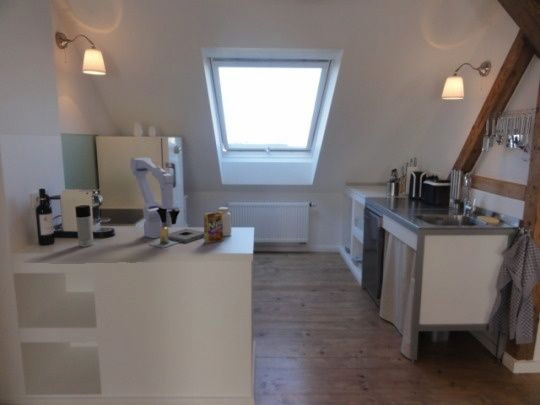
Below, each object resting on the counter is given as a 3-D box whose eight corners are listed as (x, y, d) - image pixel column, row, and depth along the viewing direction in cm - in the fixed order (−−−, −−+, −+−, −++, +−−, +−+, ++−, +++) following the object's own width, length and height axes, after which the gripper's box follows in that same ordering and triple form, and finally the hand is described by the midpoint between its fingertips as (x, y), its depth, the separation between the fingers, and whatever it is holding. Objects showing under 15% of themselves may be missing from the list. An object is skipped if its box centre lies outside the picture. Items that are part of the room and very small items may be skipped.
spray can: (96, 244, 192) (93, 205, 189) (86, 247, 186) (82, 207, 182) (86, 242, 194) (82, 204, 191) (75, 246, 188) (71, 206, 184)
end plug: (158, 243, 190) (157, 228, 189) (165, 241, 194) (163, 226, 193) (164, 244, 188) (163, 229, 187) (171, 242, 192) (169, 227, 190)
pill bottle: (219, 237, 203) (219, 209, 200) (214, 233, 210) (213, 207, 207) (233, 235, 206) (233, 208, 204) (228, 232, 213) (227, 206, 211)
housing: (164, 238, 201) (163, 235, 201) (186, 232, 214) (185, 228, 214) (185, 243, 192) (185, 239, 192) (207, 236, 205) (207, 232, 205)
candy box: (207, 243, 191) (206, 214, 188) (204, 241, 194) (202, 212, 192) (223, 241, 196) (222, 212, 193) (219, 239, 199) (218, 210, 197)
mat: (149, 245, 189) (149, 244, 189) (165, 240, 198) (165, 239, 198) (163, 248, 184) (163, 247, 184) (178, 243, 192) (178, 242, 192)
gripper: (151, 197, 194) (153, 222, 196) (171, 199, 186) (172, 226, 188) (162, 195, 199) (163, 220, 202) (181, 197, 191) (183, 223, 194)
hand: (168, 223), depth 195 cm, fingers open, 7 cm apart
